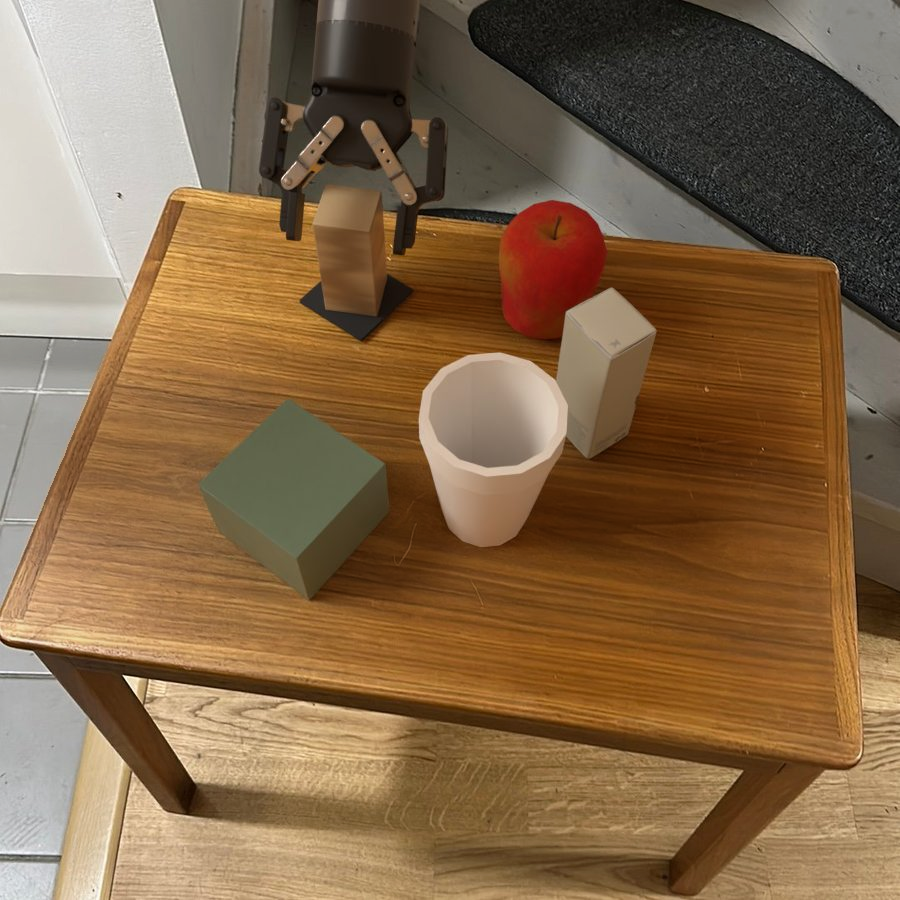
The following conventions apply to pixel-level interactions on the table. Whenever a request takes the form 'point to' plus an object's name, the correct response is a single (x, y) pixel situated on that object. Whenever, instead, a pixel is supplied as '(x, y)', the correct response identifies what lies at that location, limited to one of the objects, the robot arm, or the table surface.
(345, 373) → the table surface
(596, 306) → the box
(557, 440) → the foam cup
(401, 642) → the table surface
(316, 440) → the stand
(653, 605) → the table surface
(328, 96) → the robot arm
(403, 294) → the mat
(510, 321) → the apple
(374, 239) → the block
